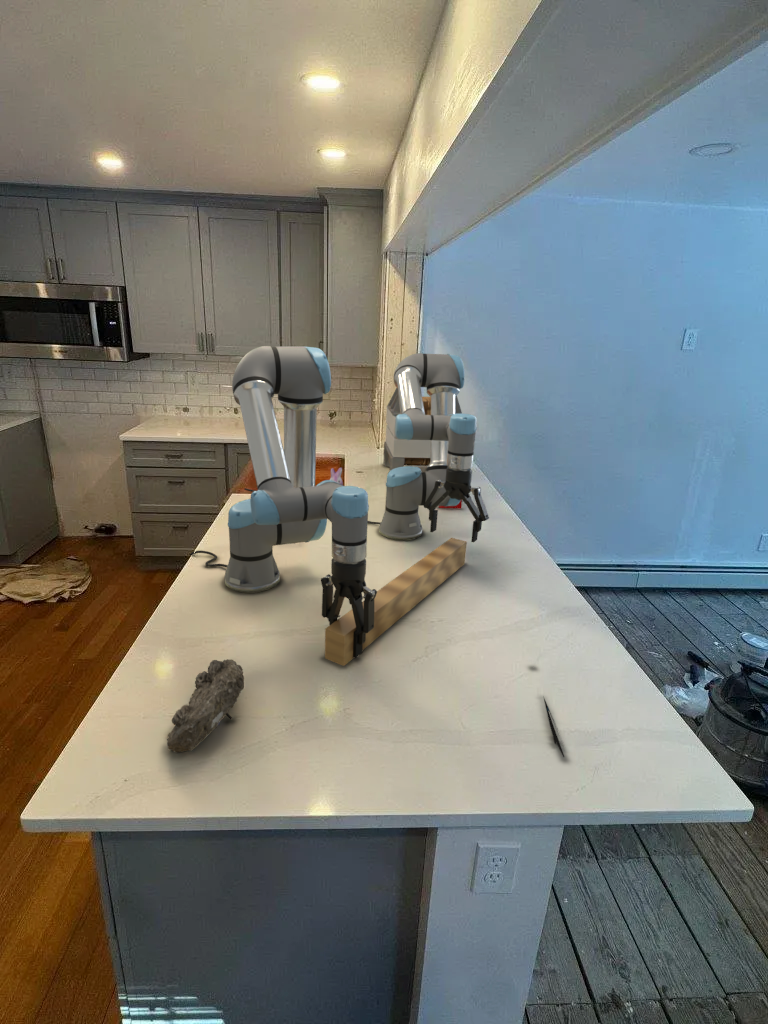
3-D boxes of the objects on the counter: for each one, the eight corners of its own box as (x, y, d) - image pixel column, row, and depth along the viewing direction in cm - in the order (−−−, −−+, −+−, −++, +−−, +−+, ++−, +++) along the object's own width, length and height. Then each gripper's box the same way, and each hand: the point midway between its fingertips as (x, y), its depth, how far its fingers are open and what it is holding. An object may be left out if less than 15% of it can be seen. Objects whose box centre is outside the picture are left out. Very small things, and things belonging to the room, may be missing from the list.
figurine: (332, 510, 220) (332, 472, 215) (322, 501, 228) (322, 465, 223) (354, 507, 224) (355, 470, 219) (343, 499, 232) (344, 463, 227)
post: (449, 559, 181) (451, 537, 178) (464, 563, 179) (466, 541, 176) (324, 658, 128) (325, 628, 125) (343, 666, 125) (344, 636, 122)
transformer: (382, 463, 289) (386, 382, 275) (445, 464, 293) (451, 384, 279) (390, 482, 257) (394, 392, 243) (460, 483, 261) (468, 394, 247)
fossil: (192, 660, 117) (244, 628, 112) (224, 691, 120) (276, 661, 115) (142, 746, 98) (202, 712, 93) (182, 779, 101) (242, 748, 96)
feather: (533, 672, 128) (539, 666, 127) (564, 762, 101) (571, 754, 101) (527, 668, 128) (533, 662, 127) (556, 757, 101) (563, 750, 100)
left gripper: (304, 553, 124) (305, 645, 132) (375, 575, 115) (371, 672, 123) (325, 542, 130) (324, 630, 138) (394, 562, 121) (389, 655, 129)
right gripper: (415, 463, 168) (411, 530, 175) (495, 478, 156) (487, 549, 163) (427, 458, 174) (422, 523, 181) (504, 472, 162) (496, 541, 169)
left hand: (346, 650), depth 130 cm, fingers closed on post, 5 cm apart
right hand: (453, 536), depth 172 cm, fingers open, 13 cm apart
